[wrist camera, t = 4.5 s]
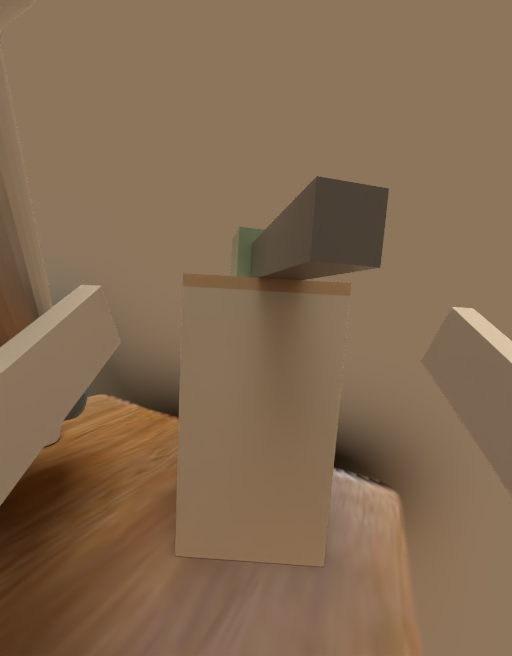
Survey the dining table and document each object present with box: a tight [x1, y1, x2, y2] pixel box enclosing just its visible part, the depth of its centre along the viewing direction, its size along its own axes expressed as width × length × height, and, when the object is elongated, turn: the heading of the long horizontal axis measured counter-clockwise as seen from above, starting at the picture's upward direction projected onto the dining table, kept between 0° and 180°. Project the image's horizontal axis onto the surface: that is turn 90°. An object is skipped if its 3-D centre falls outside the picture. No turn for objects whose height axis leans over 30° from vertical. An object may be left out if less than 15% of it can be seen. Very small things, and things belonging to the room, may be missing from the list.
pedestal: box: [175, 273, 351, 567], centre depth 33 cm, size 14×16×30 cm
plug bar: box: [231, 176, 389, 280], centre depth 24 cm, size 22×7×6 cm, turn 12°
